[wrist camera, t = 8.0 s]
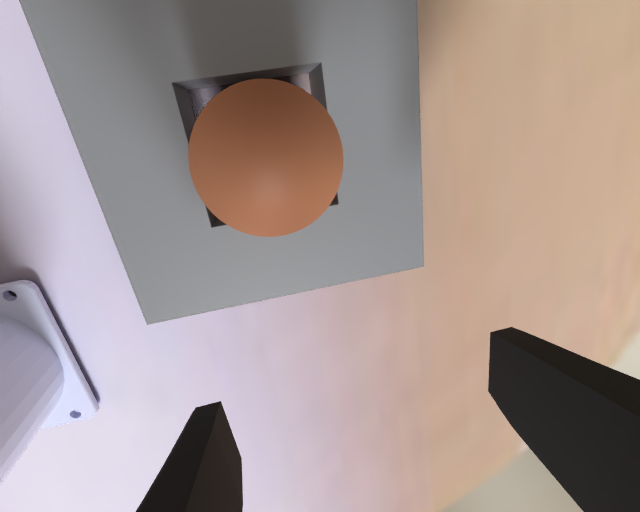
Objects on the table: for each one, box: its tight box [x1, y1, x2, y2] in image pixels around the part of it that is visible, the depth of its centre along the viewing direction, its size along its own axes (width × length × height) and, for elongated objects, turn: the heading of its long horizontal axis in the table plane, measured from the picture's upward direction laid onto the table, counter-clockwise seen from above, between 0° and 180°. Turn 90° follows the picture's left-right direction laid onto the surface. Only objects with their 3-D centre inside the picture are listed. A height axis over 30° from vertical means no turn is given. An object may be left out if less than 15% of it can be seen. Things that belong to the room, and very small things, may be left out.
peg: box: [188, 78, 344, 237], centre depth 12 cm, size 4×4×8 cm
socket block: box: [19, 0, 424, 325], centre depth 14 cm, size 12×12×3 cm
